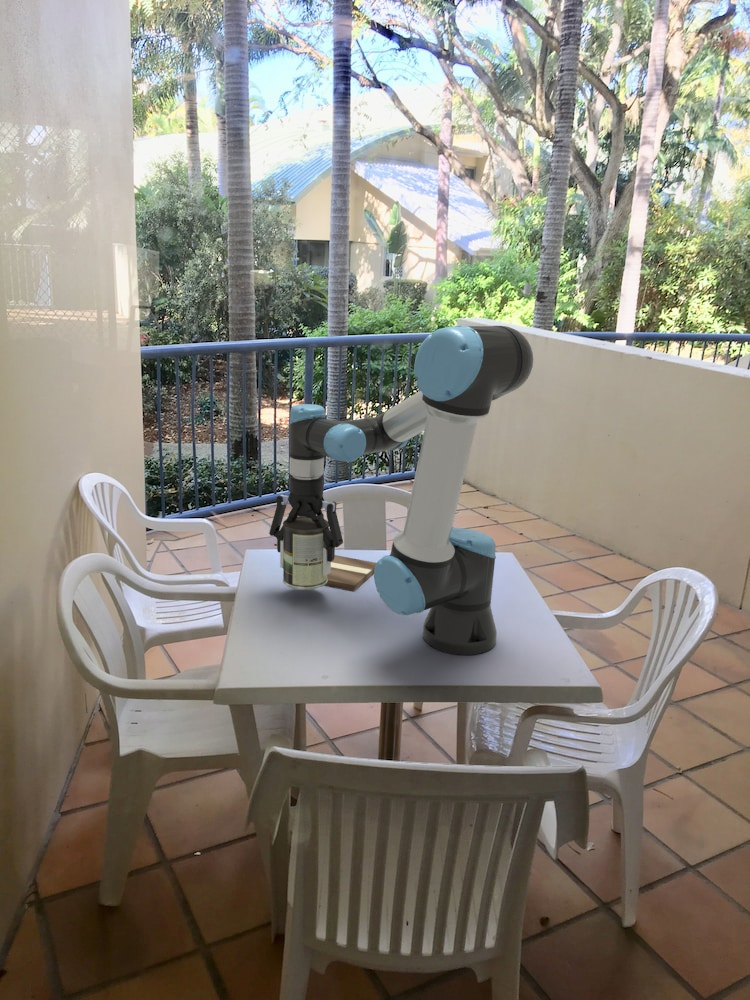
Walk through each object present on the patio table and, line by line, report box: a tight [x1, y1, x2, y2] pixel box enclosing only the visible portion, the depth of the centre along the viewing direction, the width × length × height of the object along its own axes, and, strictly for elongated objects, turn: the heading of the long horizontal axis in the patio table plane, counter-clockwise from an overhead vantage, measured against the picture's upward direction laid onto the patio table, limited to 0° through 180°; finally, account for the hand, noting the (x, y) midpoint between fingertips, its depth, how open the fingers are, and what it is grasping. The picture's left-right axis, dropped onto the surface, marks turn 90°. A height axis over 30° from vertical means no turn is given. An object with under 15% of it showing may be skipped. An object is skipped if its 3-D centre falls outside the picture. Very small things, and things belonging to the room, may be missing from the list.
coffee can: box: [282, 516, 330, 591], centre depth 168 cm, size 10×10×14 cm
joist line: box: [331, 562, 371, 575], centre depth 186 cm, size 3×18×1 cm, turn 68°
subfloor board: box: [324, 554, 377, 592], centre depth 185 cm, size 16×18×2 cm
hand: (305, 569), depth 169 cm, fingers closed on coffee can, 10 cm apart
